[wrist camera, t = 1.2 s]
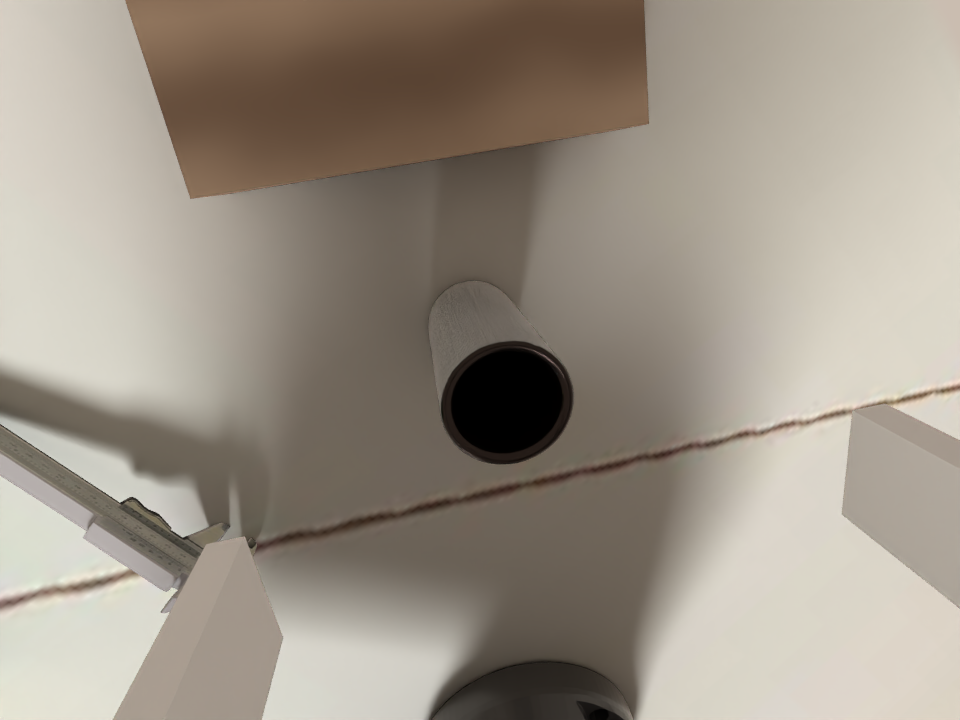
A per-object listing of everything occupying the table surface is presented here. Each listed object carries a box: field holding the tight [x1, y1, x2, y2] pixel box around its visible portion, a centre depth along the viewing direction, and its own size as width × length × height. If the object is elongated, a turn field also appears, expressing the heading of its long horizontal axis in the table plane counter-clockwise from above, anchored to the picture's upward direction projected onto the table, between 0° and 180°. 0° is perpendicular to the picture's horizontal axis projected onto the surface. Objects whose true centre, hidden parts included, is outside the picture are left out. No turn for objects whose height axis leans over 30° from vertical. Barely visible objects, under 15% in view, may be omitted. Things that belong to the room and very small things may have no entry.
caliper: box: [0, 424, 257, 613], centre depth 24 cm, size 20×1×6 cm, turn 51°
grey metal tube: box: [428, 281, 574, 464], centre depth 23 cm, size 4×4×10 cm
